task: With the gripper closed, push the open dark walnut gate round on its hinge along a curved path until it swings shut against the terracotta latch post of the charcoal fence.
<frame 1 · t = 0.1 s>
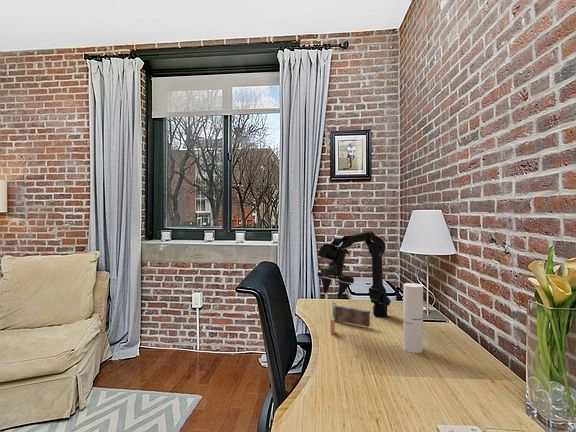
hand: (331, 295, 149), 15 cm above the table, tool pointing down, fingers open, 9 cm apart
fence: (335, 321, 160), on the table
gate: (352, 316, 155), point 4 cm above the table, hinge at 60.0°
cylindrical container: (413, 349, 127), on the table
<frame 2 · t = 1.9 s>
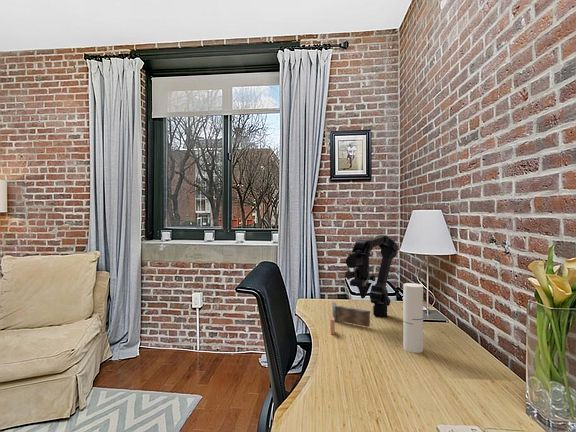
hand: (363, 297, 158), 12 cm above the table, tool pointing down, fingers closed
nothing on the table moved.
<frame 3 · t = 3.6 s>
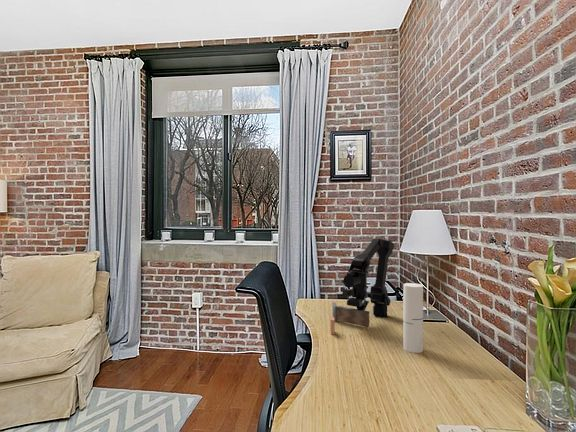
hand: (360, 316, 156), 4 cm above the table, tool pointing down, fingers closed
gate: (352, 316, 155), point 4 cm above the table, hinge at 58.0°, touching gripper
everything else where it was.
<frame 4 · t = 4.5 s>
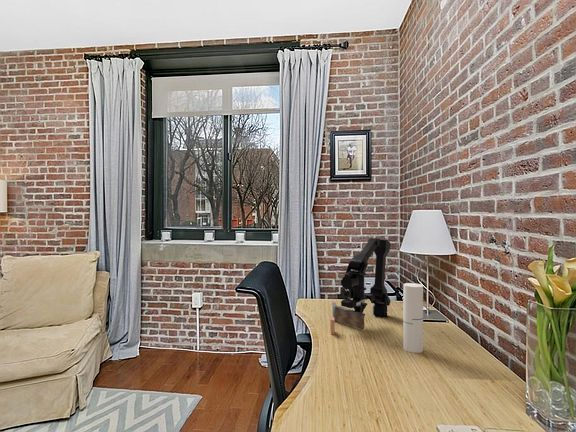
hand: (358, 318, 153), 4 cm above the table, tool pointing down, fingers closed
gate: (349, 317, 153), point 4 cm above the table, hinge at 42.3°, touching gripper
everything else where it was.
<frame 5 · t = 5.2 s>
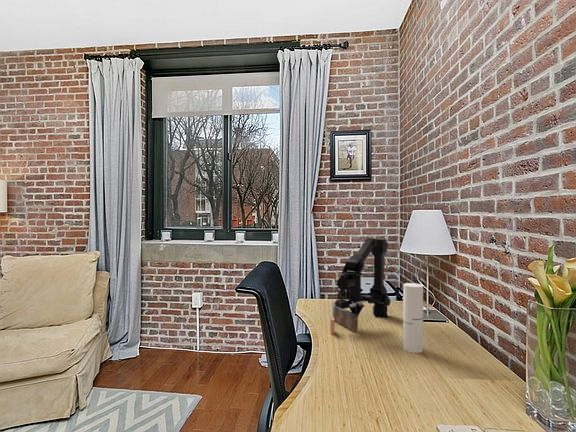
hand: (355, 319, 151), 4 cm above the table, tool pointing down, fingers closed
gate: (346, 318, 152), point 4 cm above the table, hinge at 28.6°, touching gripper
everything else where it was.
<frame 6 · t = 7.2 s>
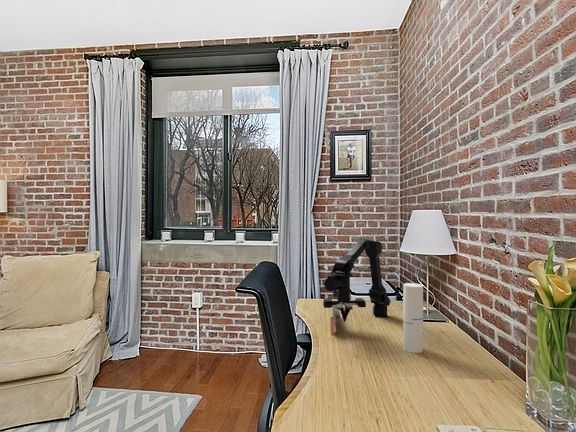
hand: (344, 321, 148), 4 cm above the table, tool pointing down, fingers closed
gate: (336, 318, 151), point 4 cm above the table, hinge at -0.1°, touching gripper
everything else where it was.
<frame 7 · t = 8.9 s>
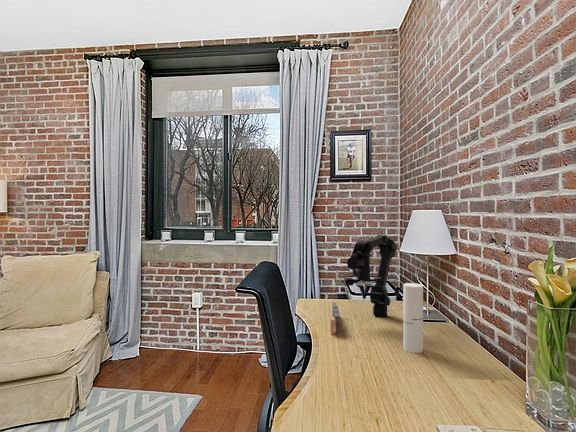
hand: (364, 298, 158), 12 cm above the table, tool pointing down, fingers closed
gate: (336, 318, 151), point 4 cm above the table, hinge at -0.2°
everything else where it was.
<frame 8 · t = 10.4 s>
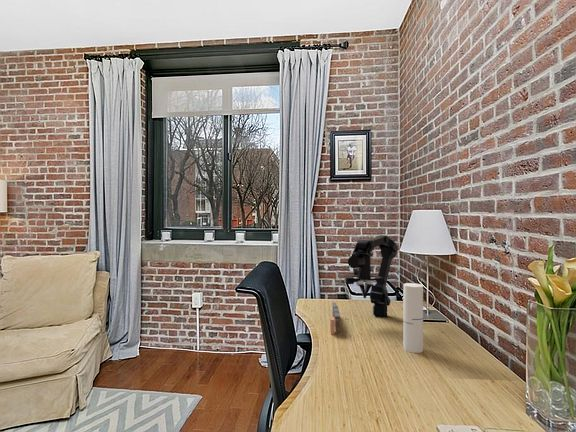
hand: (364, 298, 158), 12 cm above the table, tool pointing down, fingers closed
nothing on the table moved.
at the end: gate at +0° (first picture: +60°) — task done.
